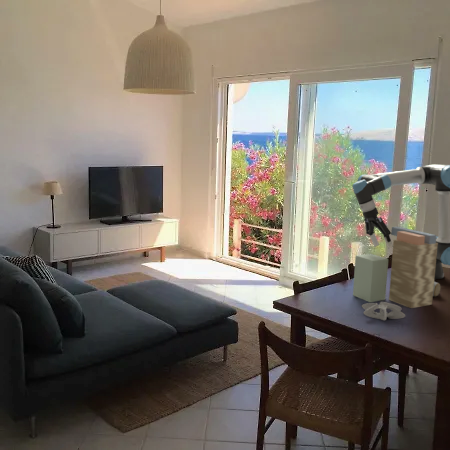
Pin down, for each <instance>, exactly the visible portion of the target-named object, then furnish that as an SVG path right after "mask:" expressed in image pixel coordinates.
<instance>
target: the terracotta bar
mask: <svg viewBox="0 0 450 450" xmlns="http://www.w3.org/2000/svg"><path fill="white" fill-rule="evenodd" d="M396 240H399V241H403V242H407V243H411V244H415V245H424V240H425V236H423V235H418V234H414V233H410V232H405V231H399V232H397V236H396Z"/></svg>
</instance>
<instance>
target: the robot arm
mask: <svg viewBox="0 0 450 450" xmlns="http://www.w3.org/2000/svg"><path fill="white" fill-rule="evenodd" d="M408 184H409V185H410V184H419V185H424V184H425V185H433V186H435V190H434V191H435V192H436V193H437V194H438V236H437V235H436V243H438V246H437V257H436V267H435V278H434V280H437V279H438V280H440V279H444V276H445V272H444V268H443V265H447V266H450V164H443V163H442V164H440V163H435V164H428V165H423V166H422V165H421V166H417V167H416V169H415V168H414V169H407V170H399V171H398V170H397V171H392V172H389V171H388V172H381V173H375V174H374V173H373V174H361V175H359V176H358V178H357V181H356V182H354V183H353V184H352V190H353V193H354V196H355V198H356V201H357V203H358V204H359V209H360V210H361V212H362V216H363V221H364V225H365V231H366V232H365V233H366V234H367V235H368V236H369V237H370V241H371V243H372V244H373V247H374V248H376V247H377V246H379V245H380V243H379V241H378V238H377V235H376V234H375V228H376V229H378V230H379V232H380V233H381V234H382V235H383V239H384V241H385V244H386V246H387V249H388V250H389V249H391V248H393V241H392V239H391V237H390V235H391V232H392V231H391V230H390V229H389V227H388V226H387V225H386V223H385V221H384V220H383V218H382V217H381V216H380V217H378V215H379V211H378V208H377V207H376V203H375V201H374V197H373V196H374V195H377V194H379V193H381V192H383V191H385V190H388V189H389V188H391V187H393V186H400V185H402V186H403V185H408ZM442 264H443V265H442Z"/></svg>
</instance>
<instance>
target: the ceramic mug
mask: <svg viewBox="0 0 450 450" xmlns="http://www.w3.org/2000/svg"><path fill="white" fill-rule="evenodd" d="M440 292H441V284H440V283H439V282H436V281H434V288H433V297H437V296H439V295H440Z"/></svg>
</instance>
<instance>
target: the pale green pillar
mask: <svg viewBox="0 0 450 450" xmlns="http://www.w3.org/2000/svg"><path fill="white" fill-rule="evenodd" d="M354 261H355V262H354V272H353V273H354V275H353V289H352V296H354V297H357V298H358V299H361V300H363V301H366V302H368V303H375V302H378V301H379V302H381V301H385V300H386V297H387V295H386V293H387V280H388V271H389V270H388V267H389V258H387V257H383V256H380V255H376V254H373V253H367V254H366V253H365V254H357V255H355V259H354Z"/></svg>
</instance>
